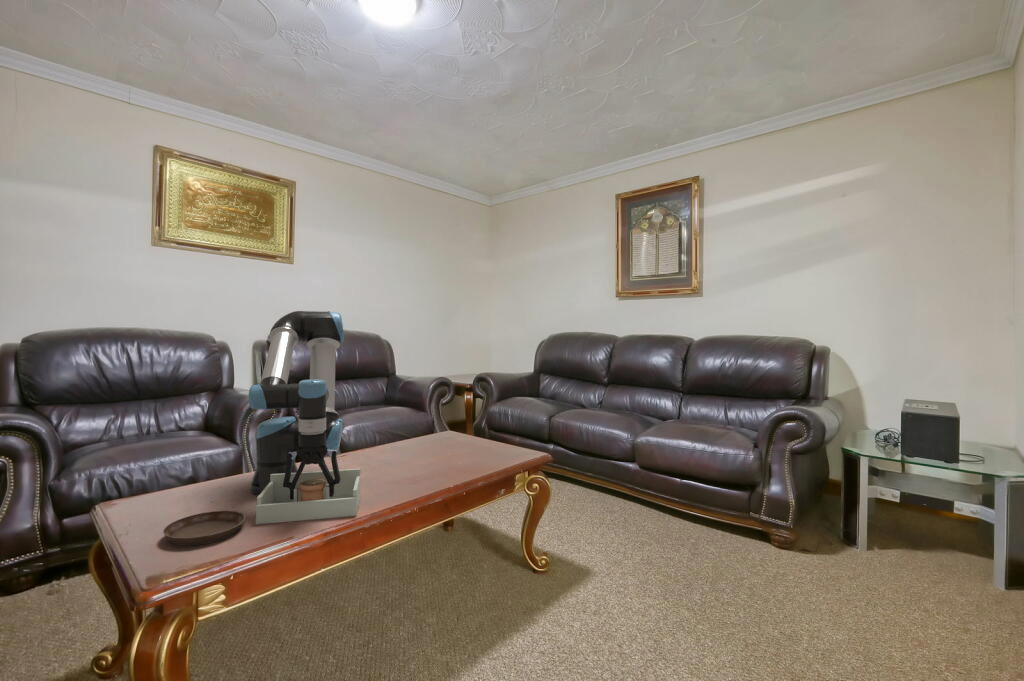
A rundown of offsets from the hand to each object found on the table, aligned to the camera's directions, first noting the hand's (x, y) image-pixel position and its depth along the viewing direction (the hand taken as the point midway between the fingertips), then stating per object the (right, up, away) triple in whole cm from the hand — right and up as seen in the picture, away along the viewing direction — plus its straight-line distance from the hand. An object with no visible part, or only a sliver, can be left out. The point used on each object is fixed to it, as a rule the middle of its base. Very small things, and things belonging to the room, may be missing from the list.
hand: (312, 508), depth 135 cm
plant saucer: (-21, -1, -17) cm, 26 cm away
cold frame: (0, 0, 0) cm, 0 cm away
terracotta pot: (0, 0, 0) cm, 0 cm away
